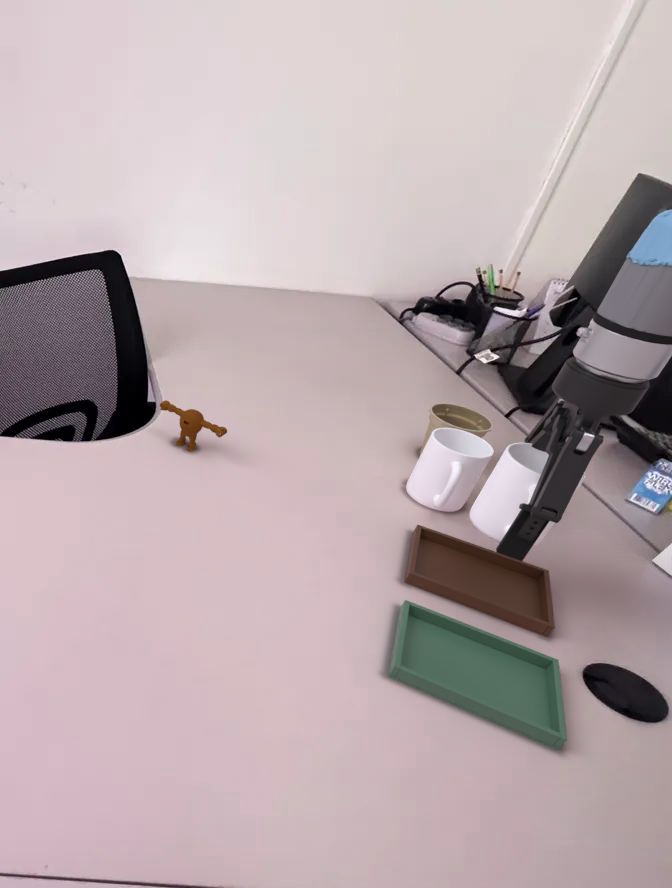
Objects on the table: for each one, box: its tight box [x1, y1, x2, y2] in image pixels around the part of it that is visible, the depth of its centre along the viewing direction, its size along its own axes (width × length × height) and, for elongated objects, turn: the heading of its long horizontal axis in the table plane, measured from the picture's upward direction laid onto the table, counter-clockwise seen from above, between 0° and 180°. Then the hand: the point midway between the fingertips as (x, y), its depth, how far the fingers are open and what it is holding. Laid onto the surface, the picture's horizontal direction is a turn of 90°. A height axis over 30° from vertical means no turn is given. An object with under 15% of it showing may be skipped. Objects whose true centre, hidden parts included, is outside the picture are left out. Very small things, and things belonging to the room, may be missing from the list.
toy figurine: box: [159, 400, 228, 452], centre depth 108 cm, size 12×4×7 cm, turn 47°
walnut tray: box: [403, 524, 556, 638], centre depth 88 cm, size 16×12×2 cm
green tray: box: [387, 599, 568, 751], centre depth 75 cm, size 16×12×2 cm
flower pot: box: [419, 402, 495, 457], centre depth 112 cm, size 9×9×9 cm
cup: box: [405, 428, 495, 513], centre depth 100 cm, size 8×12×10 cm
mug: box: [469, 442, 587, 548], centre depth 81 cm, size 12×8×10 cm
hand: (507, 527), depth 83 cm, fingers closed on mug, 12 cm apart
